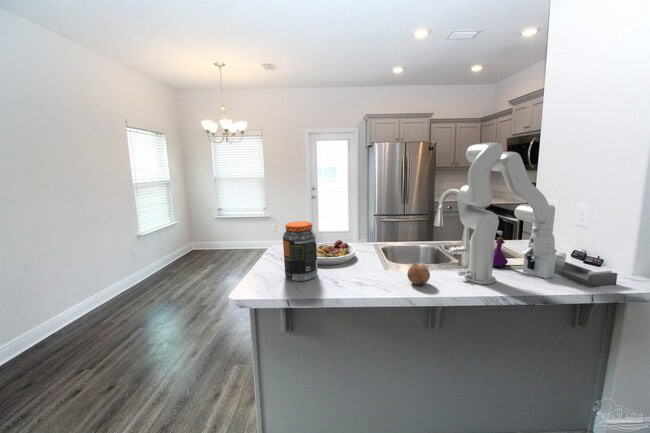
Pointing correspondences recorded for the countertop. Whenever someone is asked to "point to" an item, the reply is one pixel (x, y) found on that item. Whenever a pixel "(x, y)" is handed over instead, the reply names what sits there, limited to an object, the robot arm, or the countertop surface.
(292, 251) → the supplement tub
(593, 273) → the pusher
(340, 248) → the bowl
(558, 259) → the cream jar
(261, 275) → the countertop surface
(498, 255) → the perfume bottle
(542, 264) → the skincare box
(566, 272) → the grey shallow rectangular tray
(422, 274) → the onion
